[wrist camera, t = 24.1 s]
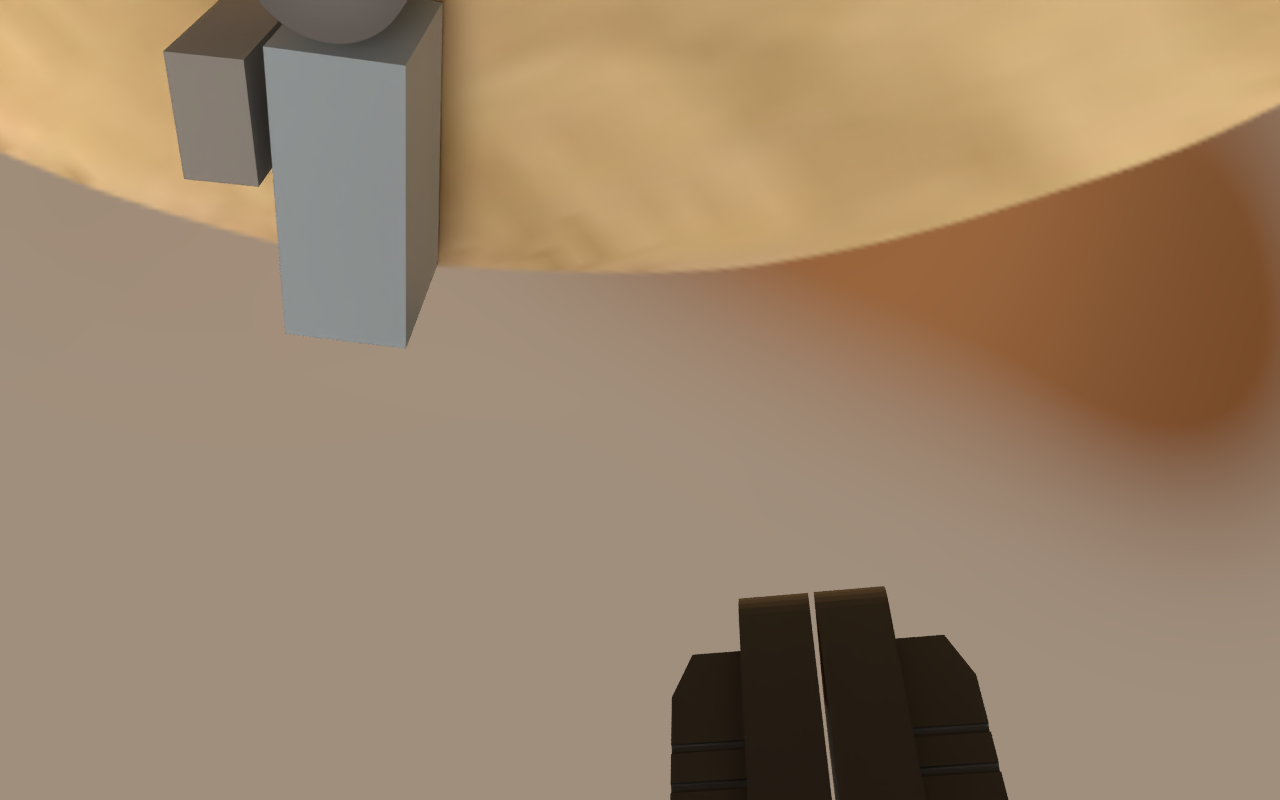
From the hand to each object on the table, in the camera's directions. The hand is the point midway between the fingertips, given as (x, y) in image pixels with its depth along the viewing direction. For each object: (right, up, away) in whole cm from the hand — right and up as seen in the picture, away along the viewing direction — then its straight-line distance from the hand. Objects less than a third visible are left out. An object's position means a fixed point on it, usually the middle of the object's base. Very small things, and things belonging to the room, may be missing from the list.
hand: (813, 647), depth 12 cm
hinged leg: (-9, +12, +21) cm, 26 cm away
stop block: (-13, +13, +22) cm, 28 cm away
